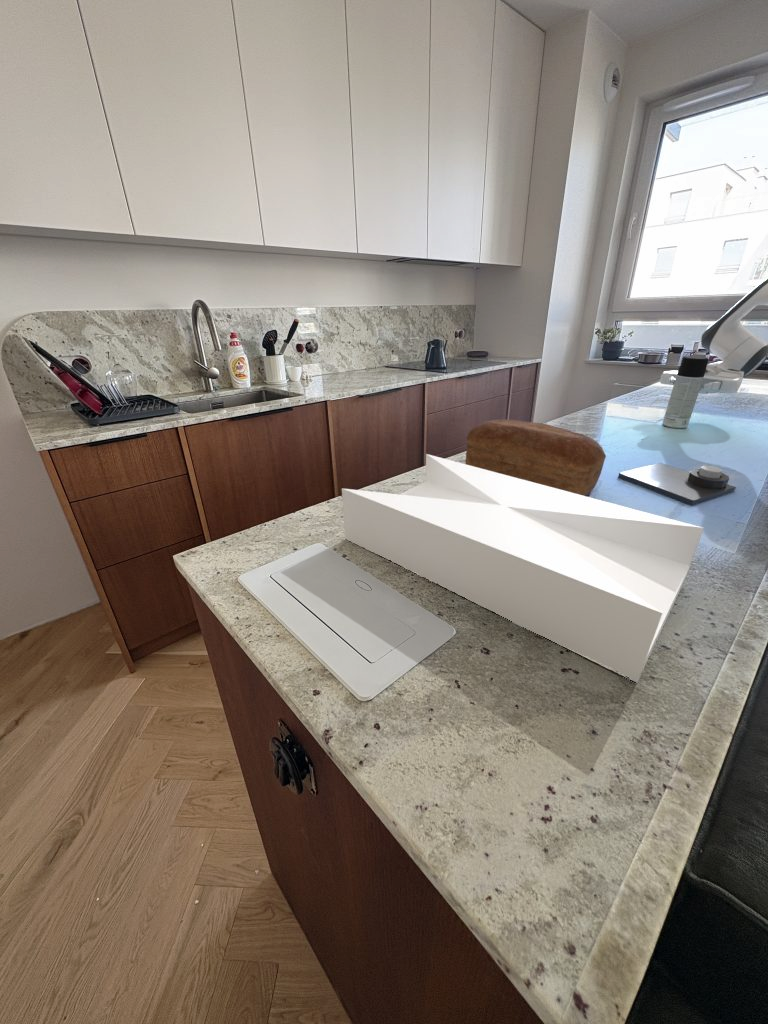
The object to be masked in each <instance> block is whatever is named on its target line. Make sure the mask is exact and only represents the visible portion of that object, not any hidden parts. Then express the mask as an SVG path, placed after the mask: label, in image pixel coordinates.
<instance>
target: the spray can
mask: <svg viewBox="0 0 768 1024" xmlns="http://www.w3.org/2000/svg"><path fill="white" fill-rule="evenodd" d="M709 361H710V359H709V358H708V357H706V356H700V355H684V356H682V359H681V362H680V365H679V367H678V370H677V371H678V373H677V376H676V379H675V382H674V385H672V389H671V393H670V396H669V400H668V403H667V406H666V410H665V413H664V417H663V419H662V427H666V428H671V429H686V428H687V427H688V426H689V424H690V420H691V418H692V415H693V412H694V408H695V405H696V402H697V400H698V396H699V390H700V387H701V384H702V381H703V378H704V375H705V372H706V367H707V364H709Z"/></svg>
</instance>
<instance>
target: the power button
mask: <svg viewBox="0 0 768 1024" xmlns="http://www.w3.org/2000/svg"><path fill="white" fill-rule="evenodd" d="M699 469H700V471H699V475H700V476H703V477H706V478H712V479H719V478H720V476H721V473H723V469H722V468H721V467H718V466H714V465H701V466H700V468H699Z"/></svg>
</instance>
